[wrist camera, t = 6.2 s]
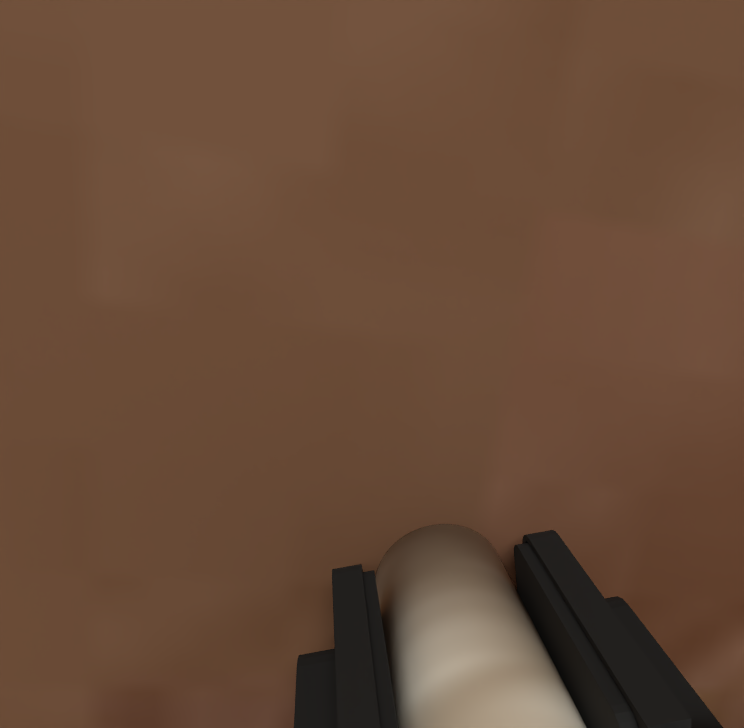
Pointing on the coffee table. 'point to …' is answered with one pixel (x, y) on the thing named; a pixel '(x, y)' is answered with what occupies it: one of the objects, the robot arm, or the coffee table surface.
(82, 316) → the coffee table surface
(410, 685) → the tethered block
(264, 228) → the coffee table surface
